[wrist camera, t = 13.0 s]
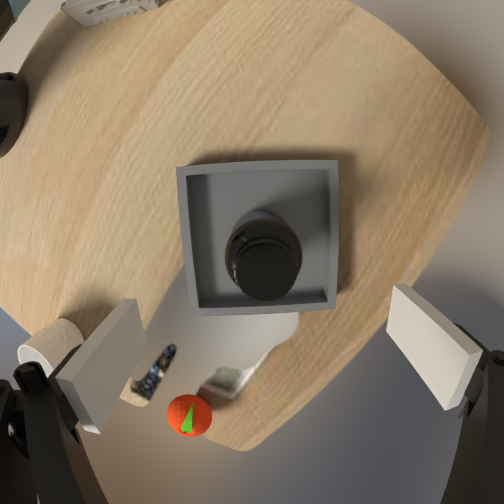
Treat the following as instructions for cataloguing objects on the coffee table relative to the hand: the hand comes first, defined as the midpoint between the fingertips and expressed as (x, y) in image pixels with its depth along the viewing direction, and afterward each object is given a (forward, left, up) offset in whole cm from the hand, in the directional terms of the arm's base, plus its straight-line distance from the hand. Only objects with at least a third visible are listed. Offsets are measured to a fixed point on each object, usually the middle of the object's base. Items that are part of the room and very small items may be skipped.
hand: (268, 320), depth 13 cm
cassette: (-33, -18, -21) cm, 43 cm away
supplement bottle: (0, 0, -20) cm, 20 cm away
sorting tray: (0, 0, -20) cm, 20 cm away
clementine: (+26, -11, -21) cm, 35 cm away
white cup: (+15, -31, -21) cm, 40 cm away
